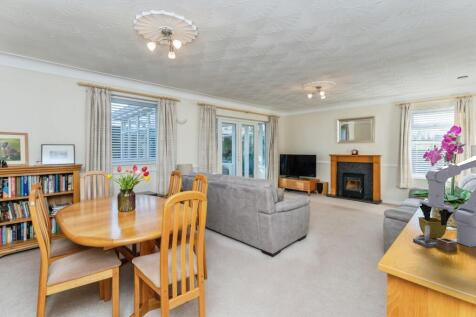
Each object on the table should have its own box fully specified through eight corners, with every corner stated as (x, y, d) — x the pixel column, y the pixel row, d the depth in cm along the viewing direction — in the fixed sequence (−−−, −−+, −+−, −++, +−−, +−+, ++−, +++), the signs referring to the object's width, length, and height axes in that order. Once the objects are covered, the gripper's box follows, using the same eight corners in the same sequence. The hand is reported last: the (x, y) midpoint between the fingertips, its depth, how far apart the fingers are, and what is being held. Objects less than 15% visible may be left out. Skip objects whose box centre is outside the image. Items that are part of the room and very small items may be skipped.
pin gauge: (426, 241, 111) (427, 225, 111) (430, 242, 110) (431, 226, 109) (422, 241, 111) (423, 225, 111) (426, 243, 109) (427, 226, 109)
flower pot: (447, 240, 114) (448, 222, 113) (427, 239, 115) (427, 221, 115) (436, 234, 122) (436, 217, 122) (417, 233, 124) (417, 216, 124)
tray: (426, 239, 115) (426, 237, 114) (441, 245, 108) (441, 242, 108) (413, 241, 113) (413, 238, 113) (427, 247, 106) (427, 244, 106)
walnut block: (444, 245, 107) (445, 237, 107) (456, 250, 103) (457, 241, 102) (436, 246, 107) (436, 238, 106) (447, 251, 102) (448, 242, 101)
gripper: (414, 192, 116) (414, 218, 117) (445, 198, 102) (444, 228, 102) (426, 191, 117) (425, 217, 118) (458, 197, 103) (457, 227, 104)
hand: (435, 222), depth 110 cm, fingers open, 7 cm apart
